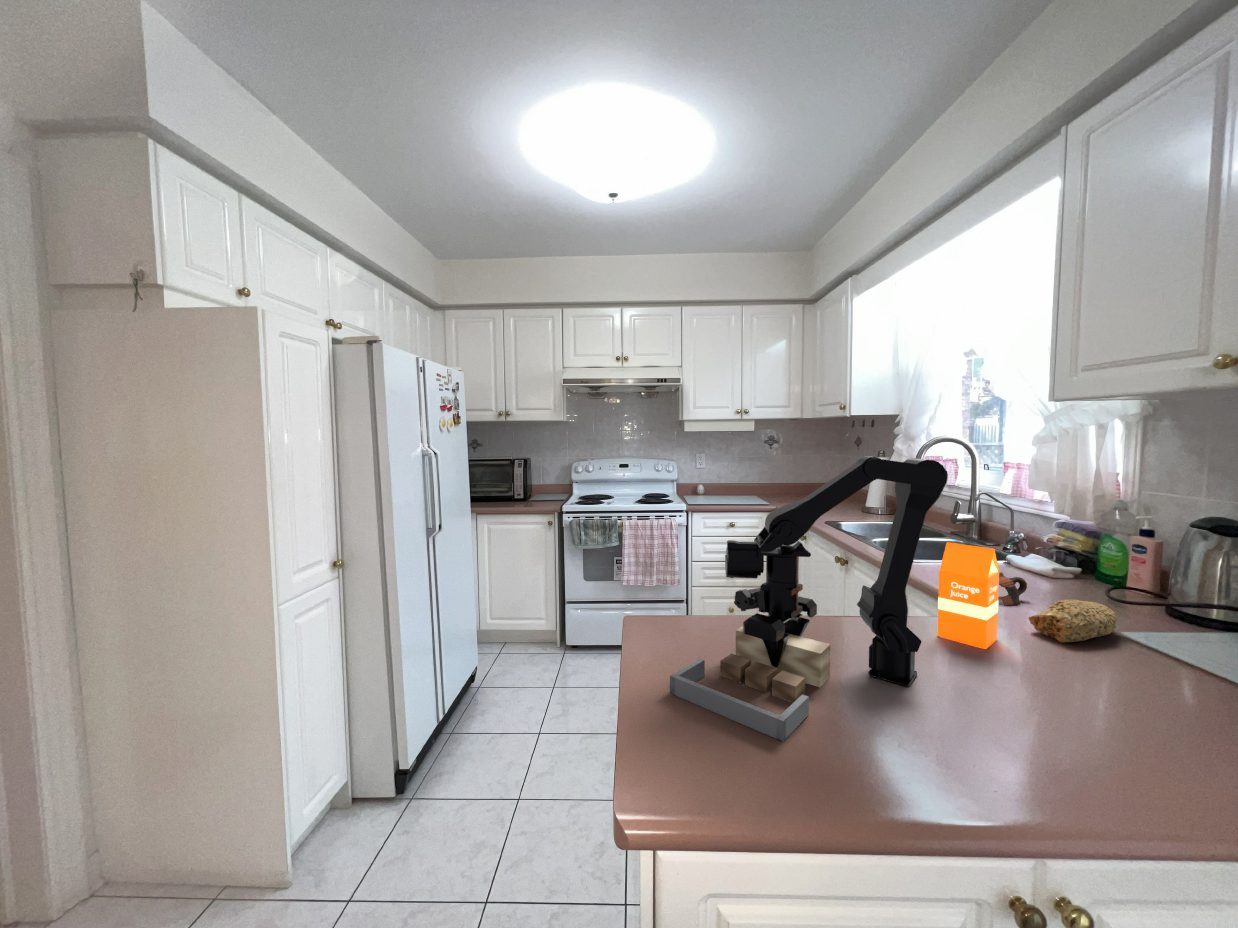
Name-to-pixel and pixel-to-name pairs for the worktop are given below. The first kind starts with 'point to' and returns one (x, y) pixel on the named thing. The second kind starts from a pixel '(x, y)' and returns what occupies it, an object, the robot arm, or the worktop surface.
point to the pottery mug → (1012, 588)
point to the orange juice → (968, 595)
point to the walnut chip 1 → (734, 667)
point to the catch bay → (736, 704)
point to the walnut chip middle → (760, 676)
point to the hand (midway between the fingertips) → (781, 661)
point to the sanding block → (790, 656)
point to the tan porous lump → (1074, 620)
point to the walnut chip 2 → (788, 686)
